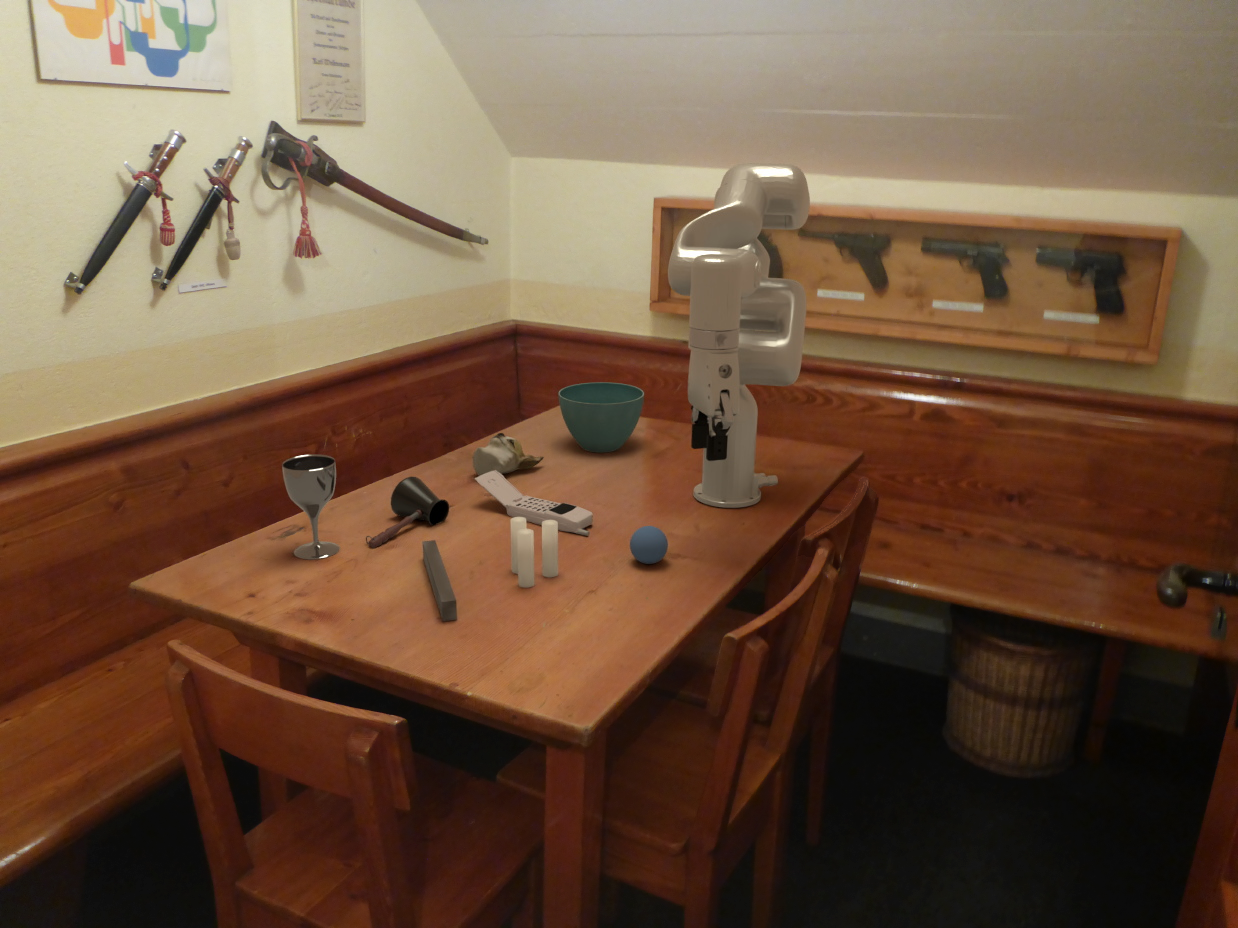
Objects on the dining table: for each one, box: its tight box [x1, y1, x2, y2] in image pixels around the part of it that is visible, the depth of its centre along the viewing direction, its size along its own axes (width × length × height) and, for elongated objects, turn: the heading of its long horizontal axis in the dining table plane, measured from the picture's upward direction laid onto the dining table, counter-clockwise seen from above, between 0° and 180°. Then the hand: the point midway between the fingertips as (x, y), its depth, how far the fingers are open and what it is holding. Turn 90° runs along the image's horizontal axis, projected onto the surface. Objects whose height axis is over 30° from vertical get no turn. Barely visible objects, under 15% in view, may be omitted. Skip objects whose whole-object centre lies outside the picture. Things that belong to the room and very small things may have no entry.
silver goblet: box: [281, 454, 341, 561], centre depth 155 cm, size 8×8×15 cm
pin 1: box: [509, 517, 527, 575], centre depth 150 cm, size 2×2×8 cm
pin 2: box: [517, 528, 535, 588], centre depth 145 cm, size 2×2×8 cm
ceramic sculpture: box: [472, 432, 545, 477], centre depth 194 cm, size 11×9×15 cm
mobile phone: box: [474, 470, 594, 537], centre depth 172 cm, size 6×6×25 cm
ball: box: [629, 525, 669, 565], centre depth 154 cm, size 6×6×6 cm
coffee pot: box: [365, 476, 450, 549], centre depth 167 cm, size 8×18×8 cm
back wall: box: [422, 539, 458, 623], centre depth 145 cm, size 2×22×3 cm, turn 18°
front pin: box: [541, 520, 559, 578], centre depth 149 cm, size 2×2×8 cm
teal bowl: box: [558, 381, 645, 454], centre depth 210 cm, size 18×18×12 cm
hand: (708, 452), depth 152 cm, fingers open, 5 cm apart
